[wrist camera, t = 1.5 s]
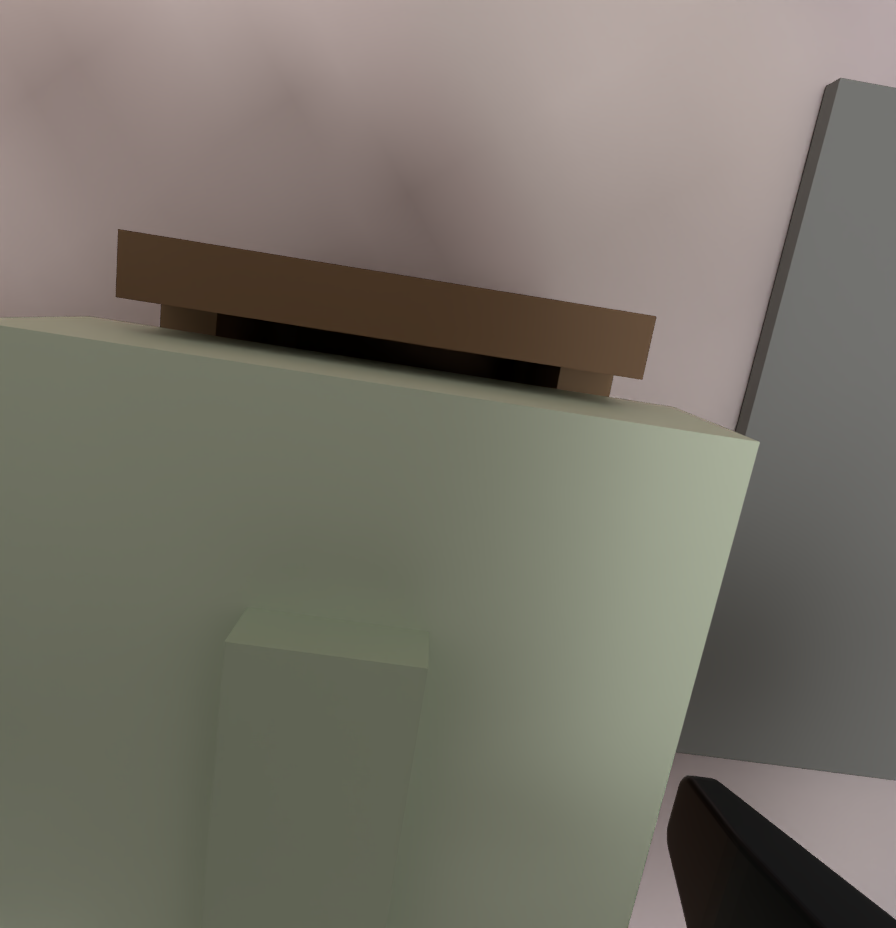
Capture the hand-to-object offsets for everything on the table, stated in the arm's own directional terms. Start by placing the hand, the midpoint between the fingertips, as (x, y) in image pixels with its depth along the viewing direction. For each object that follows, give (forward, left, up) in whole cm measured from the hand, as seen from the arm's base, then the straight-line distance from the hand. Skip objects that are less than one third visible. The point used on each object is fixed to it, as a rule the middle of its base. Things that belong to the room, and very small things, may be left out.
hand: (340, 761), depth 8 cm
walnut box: (0, 0, -5) cm, 5 cm away
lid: (0, 0, 0) cm, 0 cm away
